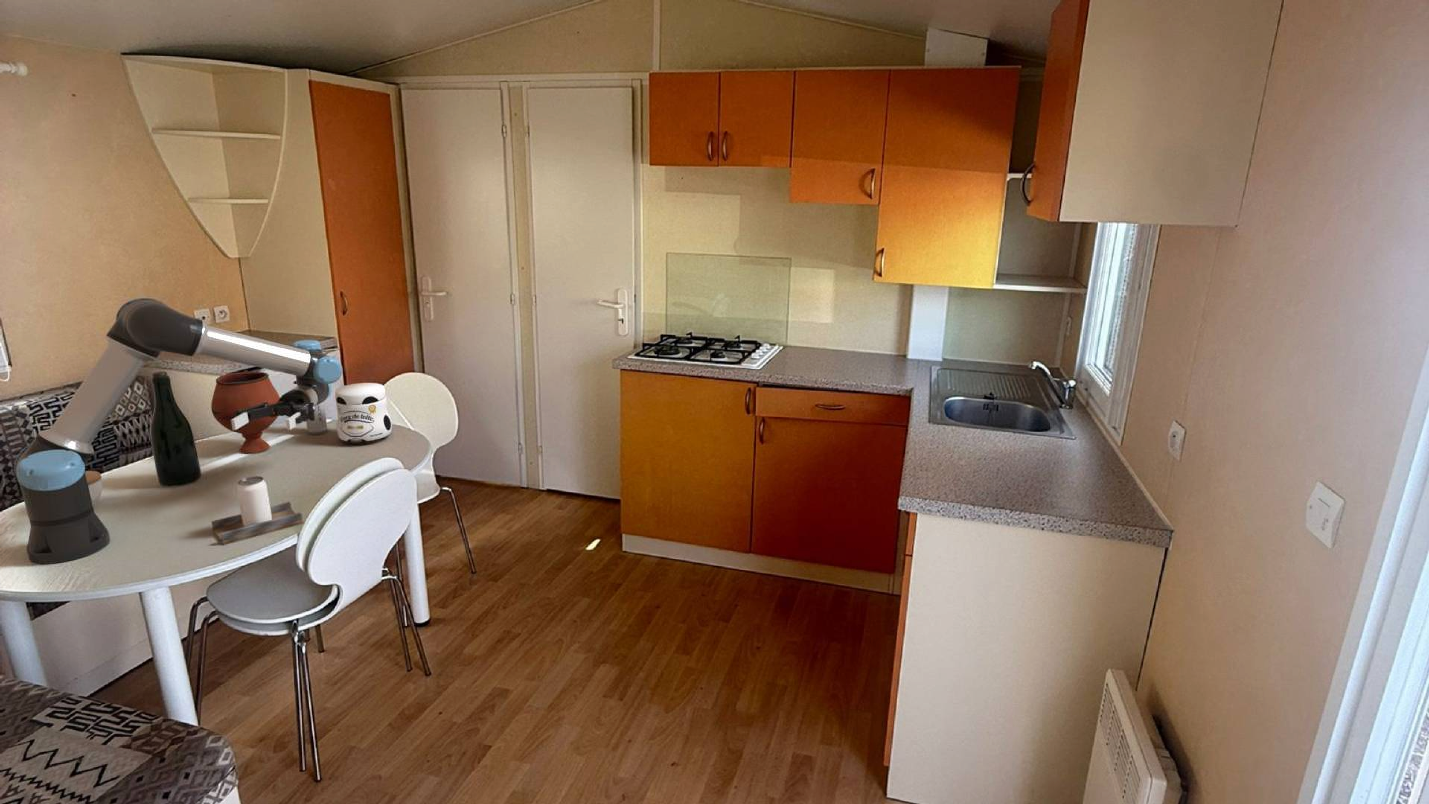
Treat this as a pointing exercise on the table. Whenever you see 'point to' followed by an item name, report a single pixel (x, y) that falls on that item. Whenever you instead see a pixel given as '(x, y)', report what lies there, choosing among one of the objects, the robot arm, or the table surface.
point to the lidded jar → (94, 484)
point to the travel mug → (318, 421)
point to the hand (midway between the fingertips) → (260, 424)
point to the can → (253, 500)
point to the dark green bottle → (172, 437)
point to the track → (236, 531)
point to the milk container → (362, 413)
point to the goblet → (244, 405)
